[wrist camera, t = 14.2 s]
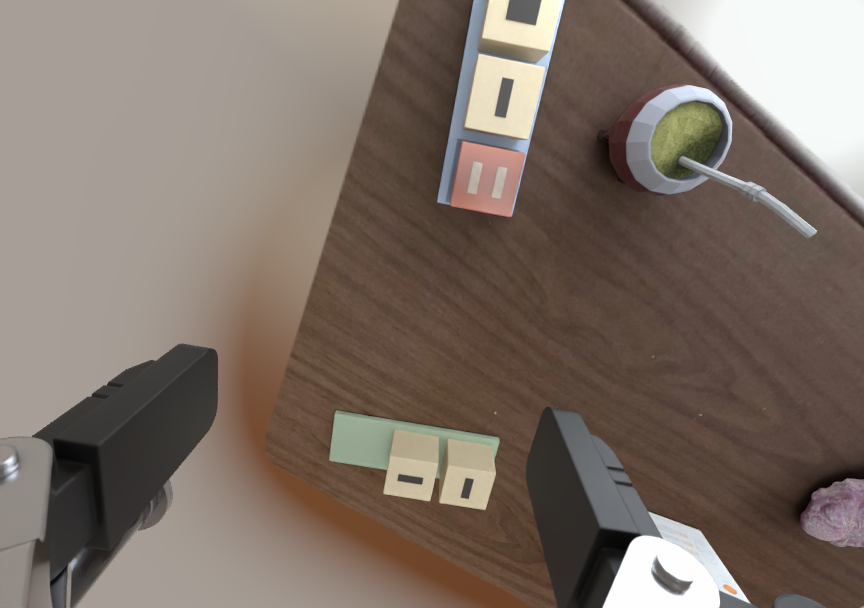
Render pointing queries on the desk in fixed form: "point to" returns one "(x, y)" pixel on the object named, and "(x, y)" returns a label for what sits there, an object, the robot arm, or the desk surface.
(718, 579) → the small box
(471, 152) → the orange cube with stripes
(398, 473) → the far word
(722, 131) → the mate gourd
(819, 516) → the fossil
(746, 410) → the desk surface
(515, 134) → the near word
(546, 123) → the desk surface
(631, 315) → the desk surface
